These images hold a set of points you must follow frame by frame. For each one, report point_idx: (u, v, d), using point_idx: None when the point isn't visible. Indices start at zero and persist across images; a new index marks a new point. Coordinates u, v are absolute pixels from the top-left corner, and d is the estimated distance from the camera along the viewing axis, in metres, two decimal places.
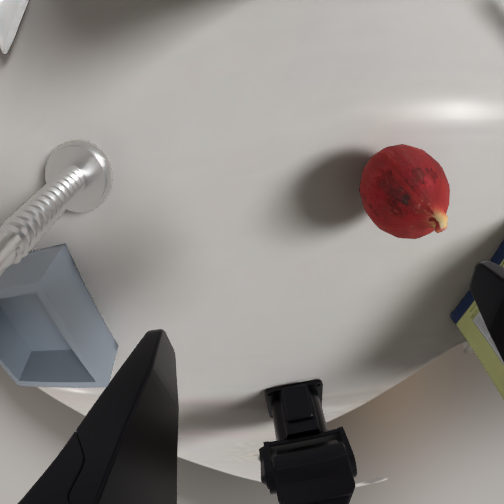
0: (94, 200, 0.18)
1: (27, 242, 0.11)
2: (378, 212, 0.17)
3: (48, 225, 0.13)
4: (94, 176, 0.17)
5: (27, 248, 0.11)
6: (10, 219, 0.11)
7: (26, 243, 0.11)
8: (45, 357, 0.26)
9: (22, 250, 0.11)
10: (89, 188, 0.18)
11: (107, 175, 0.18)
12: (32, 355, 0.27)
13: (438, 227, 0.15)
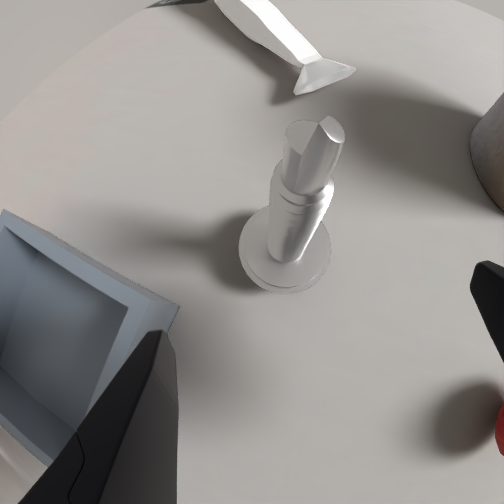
0: (288, 282, 0.16)
1: (325, 202, 0.09)
2: None
3: (303, 232, 0.11)
4: (310, 260, 0.16)
5: (318, 207, 0.09)
6: None
7: (325, 200, 0.09)
8: (11, 386, 0.16)
9: None
10: (294, 266, 0.16)
11: (320, 270, 0.16)
12: None
13: None
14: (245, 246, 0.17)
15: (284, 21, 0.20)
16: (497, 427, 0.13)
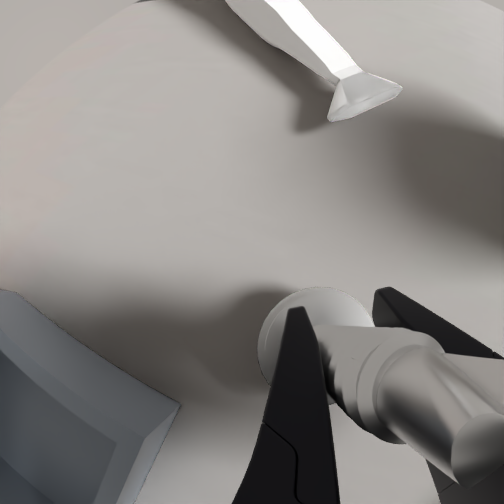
0: None
1: None
2: None
3: None
4: None
5: None
6: None
7: None
8: None
9: None
10: None
11: None
12: None
13: None
14: (267, 350, 0.12)
15: (311, 20, 0.15)
16: None
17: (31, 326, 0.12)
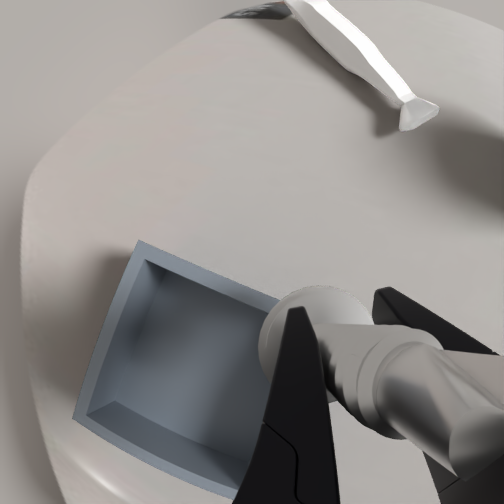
0: None
1: None
2: None
3: None
4: None
5: None
6: None
7: None
8: (142, 422, 0.18)
9: None
10: None
11: None
12: (116, 405, 0.18)
13: None
14: (267, 348, 0.12)
15: (380, 56, 0.22)
16: None
17: None
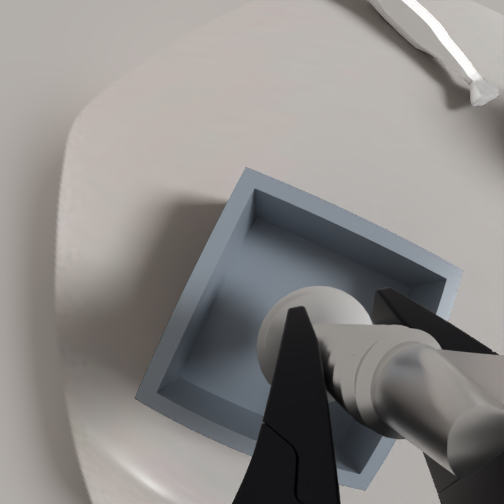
0: None
1: None
2: None
3: None
4: None
5: None
6: None
7: None
8: (219, 402, 0.15)
9: None
10: None
11: None
12: (184, 383, 0.16)
13: None
14: (266, 348, 0.12)
15: (448, 37, 0.19)
16: None
17: None
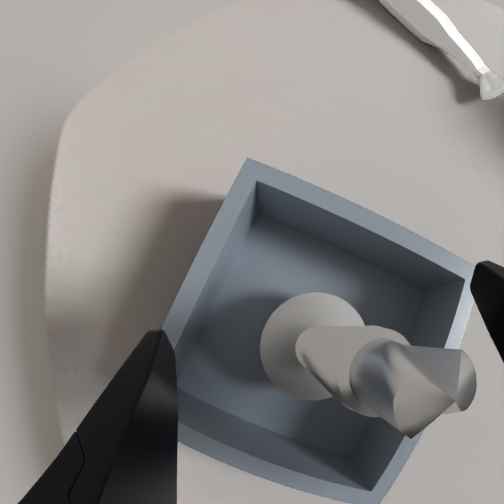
0: (318, 390, 0.13)
1: None
2: None
3: None
4: None
5: None
6: None
7: None
8: (219, 414, 0.14)
9: None
10: None
11: None
12: (180, 393, 0.15)
13: None
14: (268, 349, 0.13)
15: (455, 30, 0.18)
16: None
17: None
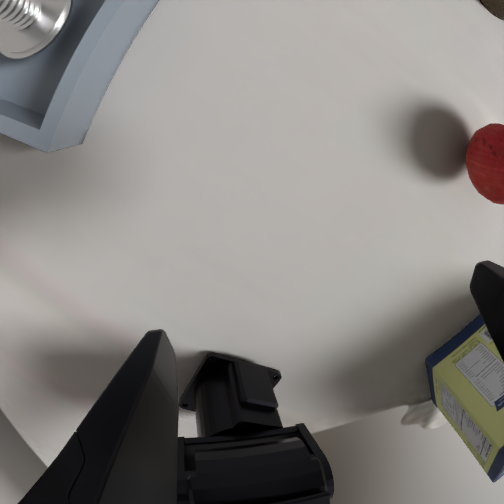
0: (23, 47, 0.10)
1: None
2: (498, 152, 0.15)
3: None
4: (45, 23, 0.10)
5: None
6: None
7: None
8: None
9: None
10: (30, 32, 0.10)
11: (55, 30, 0.11)
12: None
13: None
14: None
15: None
16: (470, 152, 0.18)
17: None
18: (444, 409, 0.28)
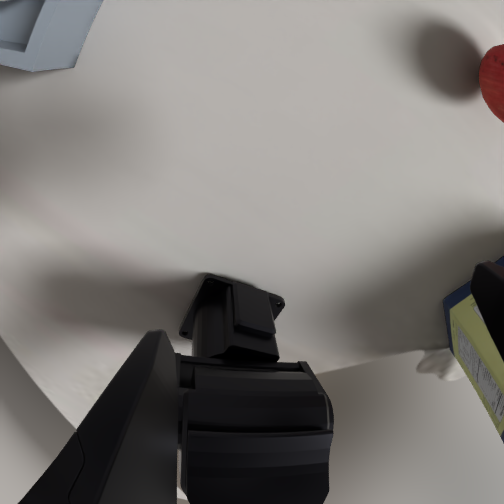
0: None
1: None
2: None
3: None
4: None
5: None
6: None
7: None
8: None
9: None
10: None
11: None
12: None
13: None
14: None
15: None
16: (482, 70, 0.14)
17: None
18: (461, 358, 0.28)
